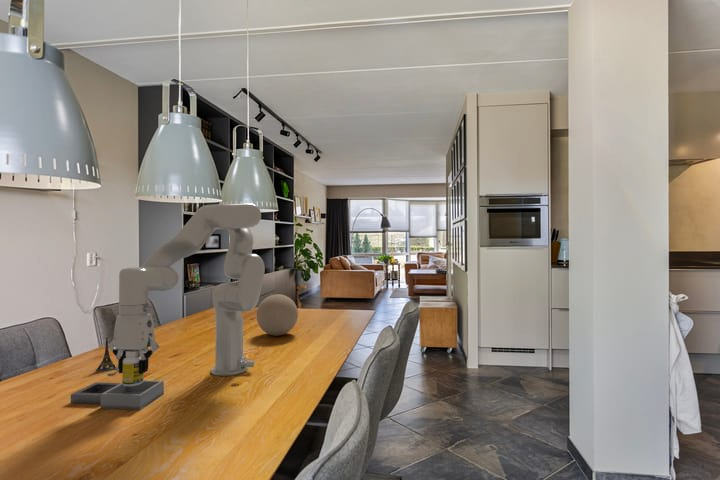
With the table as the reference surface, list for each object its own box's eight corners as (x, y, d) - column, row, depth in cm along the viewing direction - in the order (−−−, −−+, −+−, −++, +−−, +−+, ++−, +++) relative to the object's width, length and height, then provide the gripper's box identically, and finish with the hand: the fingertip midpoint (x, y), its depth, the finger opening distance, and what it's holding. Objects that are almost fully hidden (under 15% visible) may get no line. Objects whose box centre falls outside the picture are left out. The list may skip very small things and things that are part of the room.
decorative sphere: (259, 330, 210) (259, 292, 210) (298, 330, 213) (298, 291, 212) (253, 340, 190) (253, 297, 190) (296, 339, 193) (297, 297, 193)
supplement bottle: (134, 387, 116) (134, 353, 116) (117, 386, 117) (118, 352, 117) (147, 381, 121) (148, 348, 121) (132, 380, 122) (132, 347, 122)
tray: (163, 394, 125) (163, 380, 125) (140, 409, 113) (140, 395, 113) (127, 392, 125) (127, 379, 125) (100, 408, 114) (100, 394, 114)
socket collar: (126, 391, 127) (126, 383, 127) (103, 404, 117) (103, 395, 117) (95, 390, 127) (95, 382, 127) (70, 403, 117) (70, 394, 117)
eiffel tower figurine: (113, 377, 141) (113, 338, 141) (81, 378, 140) (81, 339, 140) (131, 364, 156) (131, 329, 156) (103, 365, 155) (103, 329, 155)
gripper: (169, 308, 122) (168, 369, 122) (114, 307, 124) (114, 367, 123) (154, 312, 115) (154, 377, 115) (96, 311, 116) (96, 375, 116)
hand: (133, 371), depth 119 cm, fingers closed on supplement bottle, 5 cm apart
